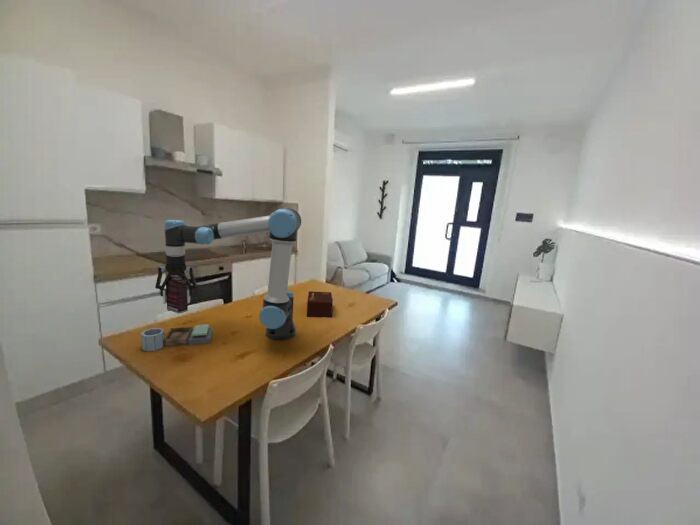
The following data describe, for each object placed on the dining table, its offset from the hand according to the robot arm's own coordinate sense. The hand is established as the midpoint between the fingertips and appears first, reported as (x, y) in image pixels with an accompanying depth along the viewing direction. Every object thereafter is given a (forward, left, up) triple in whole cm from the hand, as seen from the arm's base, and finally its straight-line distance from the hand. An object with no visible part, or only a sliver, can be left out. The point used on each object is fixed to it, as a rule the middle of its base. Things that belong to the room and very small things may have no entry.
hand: (177, 302), depth 138 cm
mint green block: (-10, +1, -17) cm, 19 cm away
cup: (+9, +6, -18) cm, 21 cm away
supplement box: (0, 0, -4) cm, 4 cm away
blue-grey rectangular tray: (-10, +1, -18) cm, 21 cm away
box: (-75, -26, -19) cm, 82 cm away
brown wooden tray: (0, 0, -18) cm, 18 cm away
